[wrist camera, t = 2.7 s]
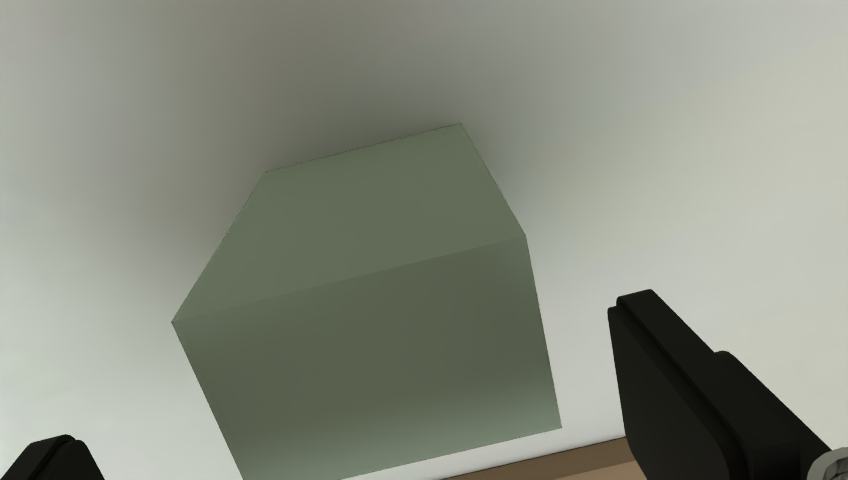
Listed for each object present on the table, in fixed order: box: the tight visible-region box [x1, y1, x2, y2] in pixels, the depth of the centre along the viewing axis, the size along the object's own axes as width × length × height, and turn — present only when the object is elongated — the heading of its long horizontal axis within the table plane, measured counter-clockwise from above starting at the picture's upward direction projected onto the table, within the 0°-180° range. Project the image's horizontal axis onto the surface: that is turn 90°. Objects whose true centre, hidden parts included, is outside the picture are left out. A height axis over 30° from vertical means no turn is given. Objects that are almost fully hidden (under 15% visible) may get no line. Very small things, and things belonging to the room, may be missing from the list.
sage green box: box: [171, 123, 562, 480], centre depth 15 cm, size 4×6×9 cm
